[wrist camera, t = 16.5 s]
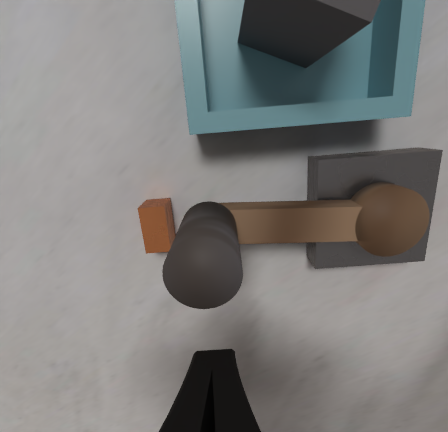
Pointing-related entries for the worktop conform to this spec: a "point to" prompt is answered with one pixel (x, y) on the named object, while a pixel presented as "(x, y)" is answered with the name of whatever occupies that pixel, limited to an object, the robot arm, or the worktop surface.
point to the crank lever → (284, 235)
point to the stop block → (302, 26)
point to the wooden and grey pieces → (332, 190)
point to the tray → (295, 71)
